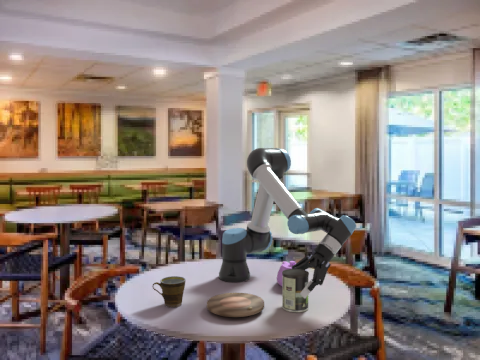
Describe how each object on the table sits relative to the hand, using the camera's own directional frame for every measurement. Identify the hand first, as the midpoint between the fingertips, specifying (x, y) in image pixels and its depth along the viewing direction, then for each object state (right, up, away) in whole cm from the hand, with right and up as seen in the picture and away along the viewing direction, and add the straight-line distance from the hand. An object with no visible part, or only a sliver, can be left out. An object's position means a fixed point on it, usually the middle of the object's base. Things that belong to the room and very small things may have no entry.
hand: (293, 290), depth 158 cm
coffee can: (+1, -7, +1) cm, 7 cm away
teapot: (+3, -6, +28) cm, 29 cm away
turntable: (-22, -7, -1) cm, 24 cm away
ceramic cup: (-49, -7, +4) cm, 49 cm away
